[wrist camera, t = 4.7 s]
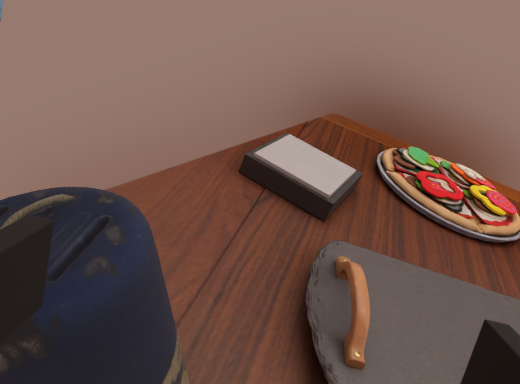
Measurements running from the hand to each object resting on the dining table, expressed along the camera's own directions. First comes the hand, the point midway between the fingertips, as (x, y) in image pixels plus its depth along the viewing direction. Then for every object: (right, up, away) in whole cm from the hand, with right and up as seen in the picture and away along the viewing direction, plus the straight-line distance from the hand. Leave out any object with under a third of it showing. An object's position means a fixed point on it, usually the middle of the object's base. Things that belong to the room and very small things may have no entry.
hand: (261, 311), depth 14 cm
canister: (-8, -13, +13) cm, 20 cm away
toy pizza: (+34, +3, +70) cm, 77 cm away
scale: (+6, +5, +55) cm, 56 cm away
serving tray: (+22, -15, +32) cm, 42 cm away
